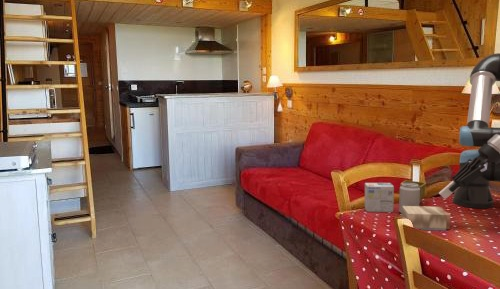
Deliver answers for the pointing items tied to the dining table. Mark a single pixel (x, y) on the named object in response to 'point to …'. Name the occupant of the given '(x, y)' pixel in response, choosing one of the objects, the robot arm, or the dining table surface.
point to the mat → (433, 229)
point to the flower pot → (421, 185)
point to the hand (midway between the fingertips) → (441, 196)
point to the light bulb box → (379, 197)
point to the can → (409, 195)
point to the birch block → (427, 216)
